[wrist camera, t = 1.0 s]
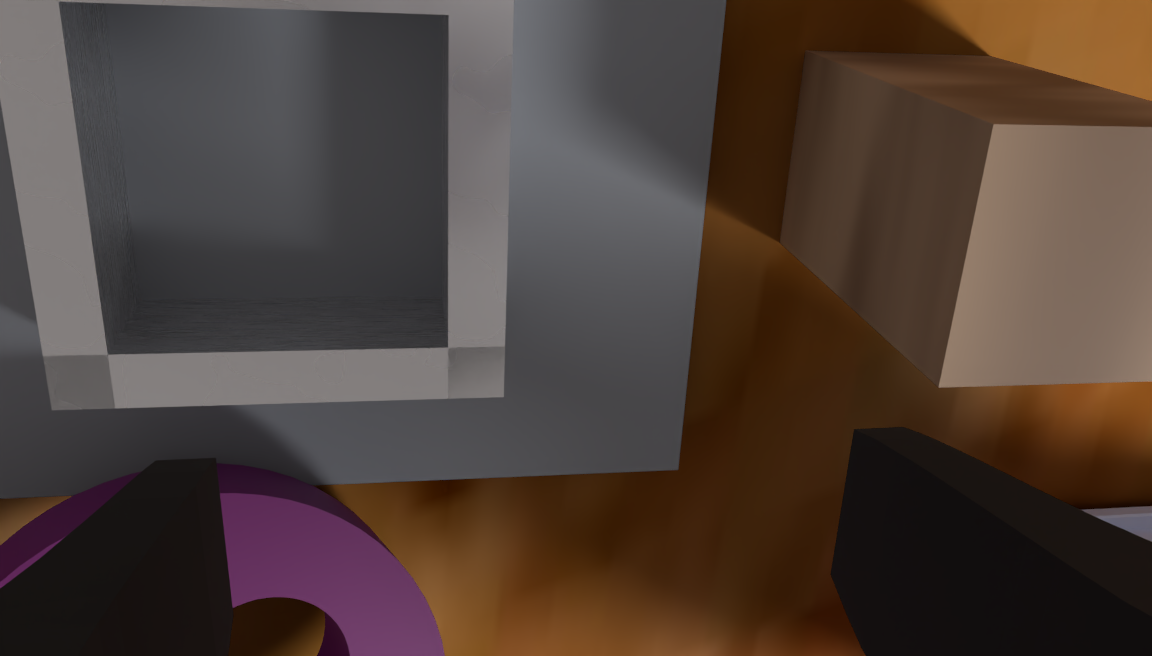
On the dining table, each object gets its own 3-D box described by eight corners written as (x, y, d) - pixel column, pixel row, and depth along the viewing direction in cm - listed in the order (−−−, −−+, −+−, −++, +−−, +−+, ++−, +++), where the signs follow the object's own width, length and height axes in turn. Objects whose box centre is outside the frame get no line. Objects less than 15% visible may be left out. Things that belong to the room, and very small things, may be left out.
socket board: (737, -245, 18) (806, -271, 15) (669, 451, 23) (709, 534, 20) (-291, -328, 15) (-458, -381, 12) (-98, 481, 21) (-182, 582, 18)
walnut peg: (989, 56, 21) (1248, 128, 15) (952, 241, 22) (1172, 380, 16) (805, 50, 20) (993, 124, 14) (779, 242, 22) (938, 388, 15)
